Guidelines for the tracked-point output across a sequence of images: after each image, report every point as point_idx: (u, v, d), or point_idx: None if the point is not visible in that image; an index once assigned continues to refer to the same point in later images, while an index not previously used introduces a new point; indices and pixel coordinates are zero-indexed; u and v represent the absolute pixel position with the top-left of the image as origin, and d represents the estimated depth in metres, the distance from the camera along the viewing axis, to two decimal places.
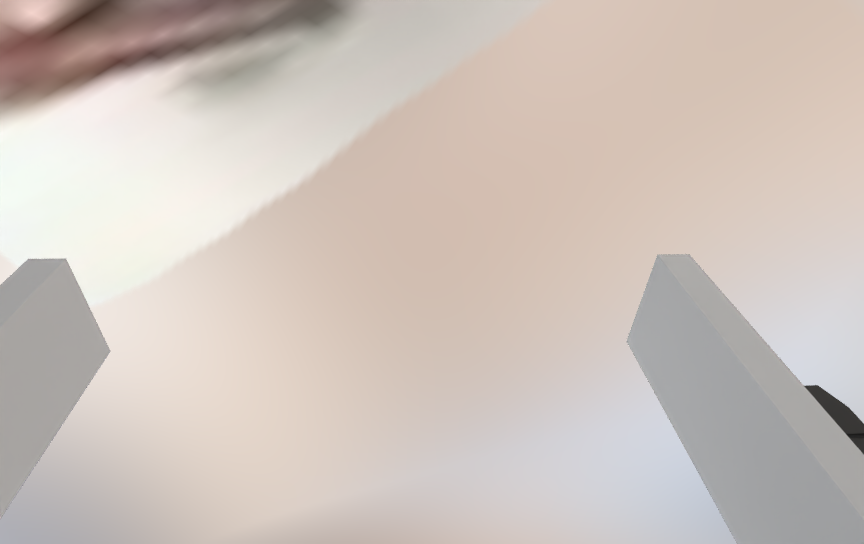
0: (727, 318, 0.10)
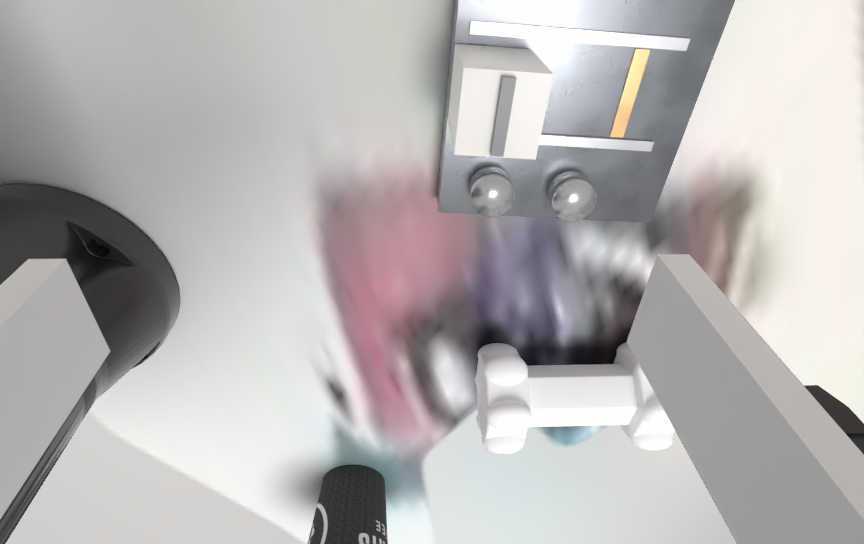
0: (727, 318, 0.10)
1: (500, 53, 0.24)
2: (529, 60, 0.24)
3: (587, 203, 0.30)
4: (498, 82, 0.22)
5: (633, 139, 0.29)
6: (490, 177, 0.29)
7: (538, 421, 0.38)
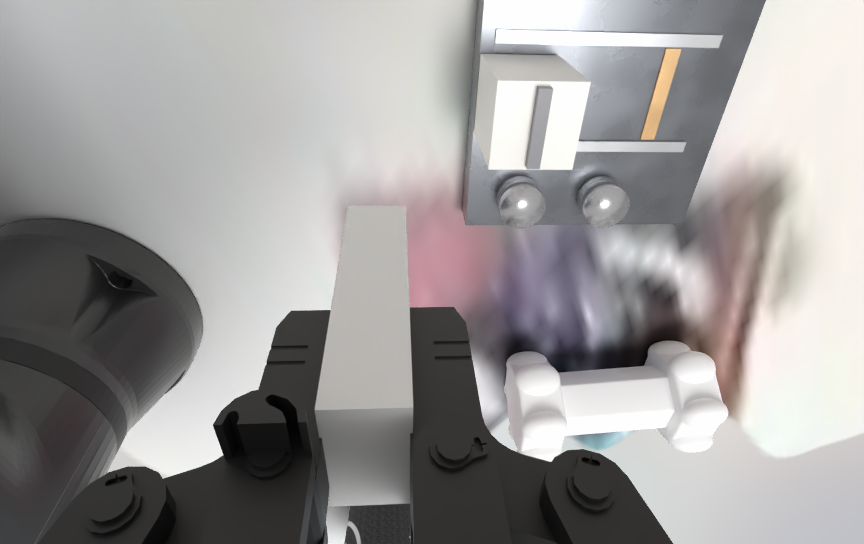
0: (392, 252, 0.11)
1: (529, 61, 0.24)
2: (561, 67, 0.23)
3: (620, 208, 0.29)
4: (533, 93, 0.21)
5: (664, 141, 0.28)
6: (520, 188, 0.28)
7: (573, 429, 0.37)
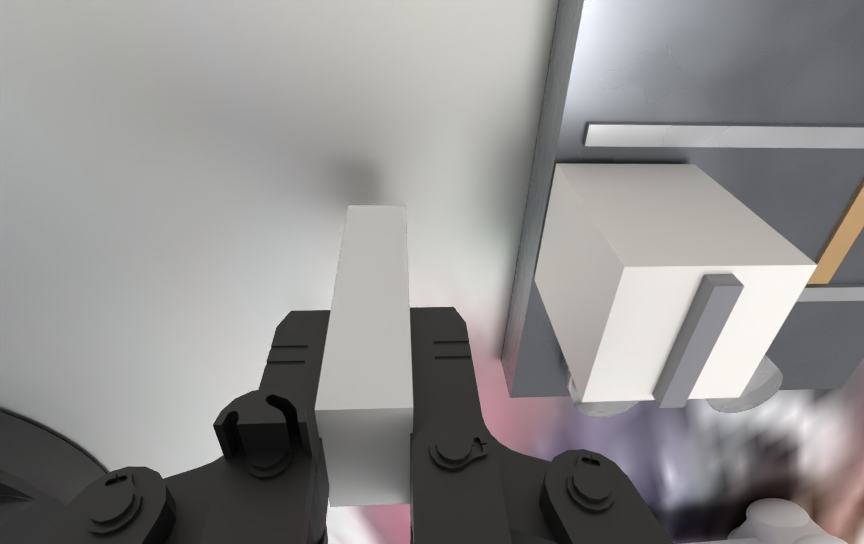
0: (392, 252, 0.11)
1: (654, 188, 0.13)
2: (724, 208, 0.12)
3: (764, 389, 0.18)
4: (695, 286, 0.10)
5: (844, 285, 0.17)
6: None
7: None
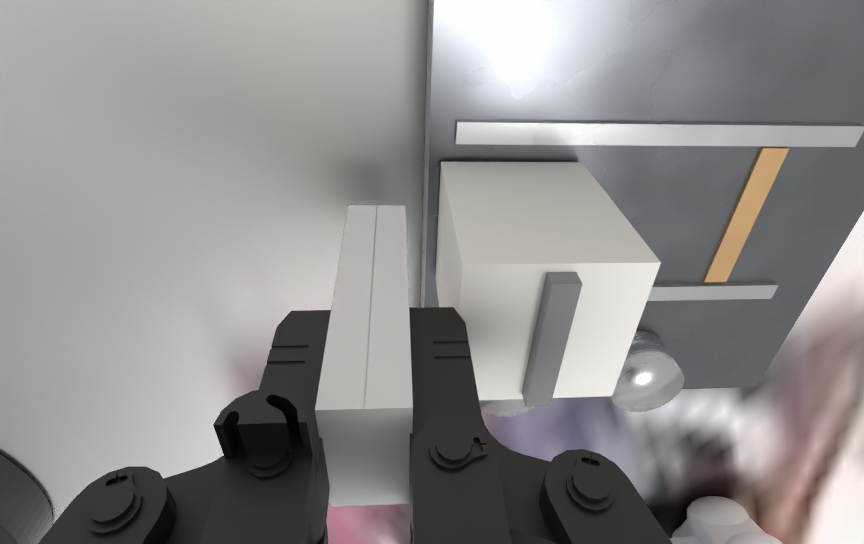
0: (391, 252, 0.11)
1: (530, 186, 0.13)
2: (592, 206, 0.12)
3: (667, 388, 0.18)
4: (540, 284, 0.10)
5: (743, 284, 0.17)
6: None
7: None
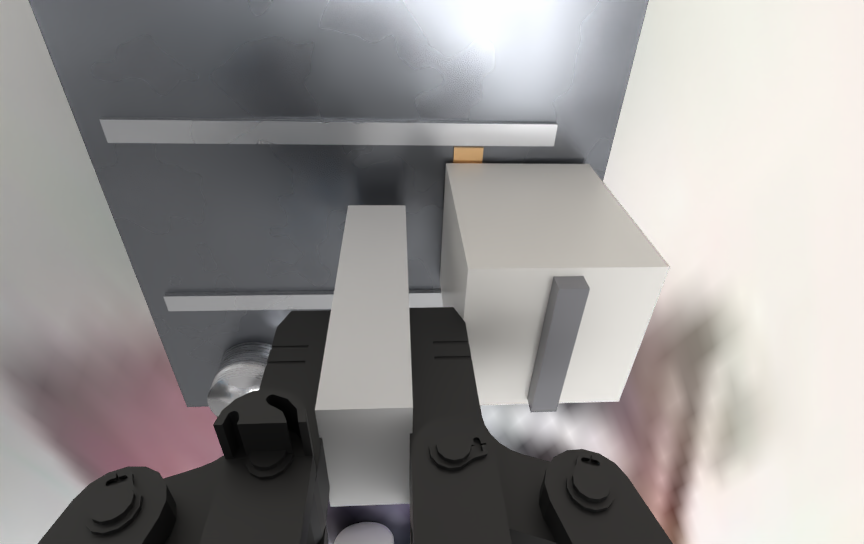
0: (391, 252, 0.11)
1: (536, 188, 0.12)
2: (599, 209, 0.12)
3: None
4: (546, 289, 0.10)
5: None
6: (231, 375, 0.16)
7: None
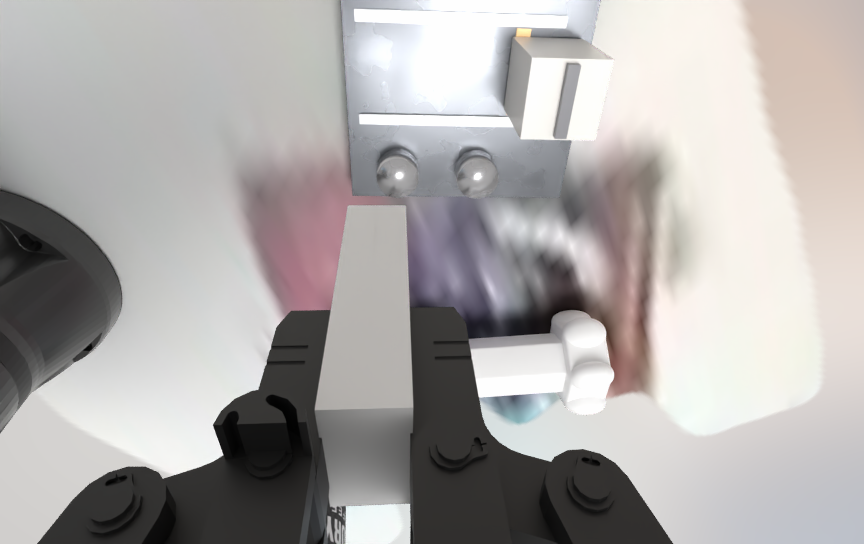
0: (392, 252, 0.11)
1: (557, 43, 0.26)
2: (586, 48, 0.26)
3: (490, 180, 0.31)
4: (563, 69, 0.24)
5: None
6: (392, 158, 0.30)
7: None
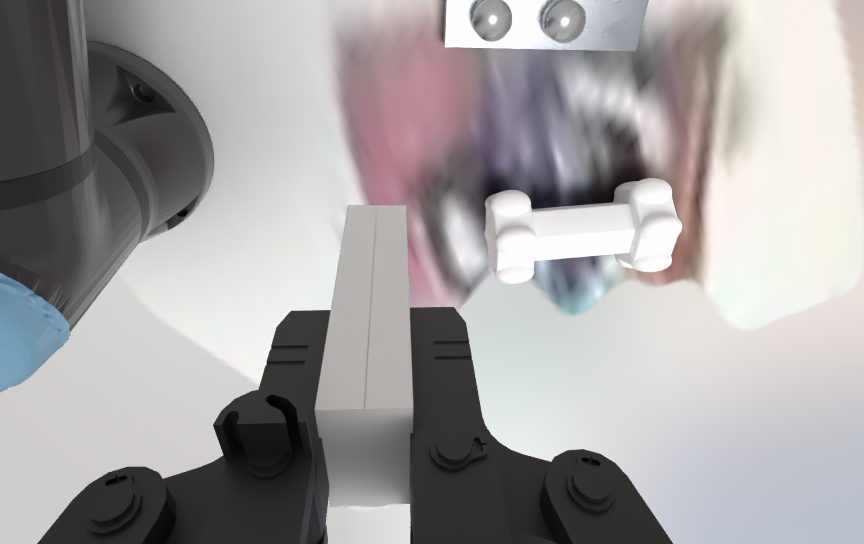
0: (392, 252, 0.11)
1: None
2: None
3: (577, 23, 0.33)
4: None
5: None
6: None
7: (544, 252, 0.42)
